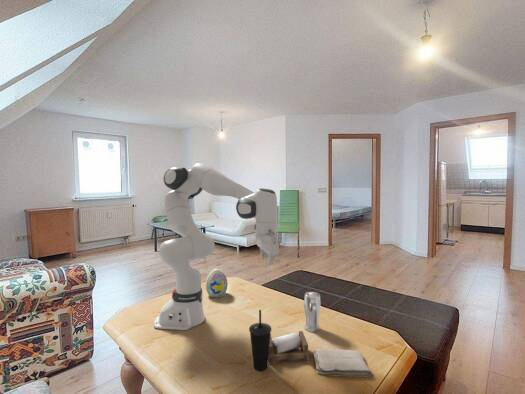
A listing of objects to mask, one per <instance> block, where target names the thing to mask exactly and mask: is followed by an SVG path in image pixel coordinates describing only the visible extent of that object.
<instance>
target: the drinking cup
mask: <svg viewBox="0 0 525 394" xmlns="http://www.w3.org/2000/svg"><path fill="white" fill-rule="evenodd" d="M248 332H249V333H250V334H249V335H250V342H251V343H250V344H251V352H252V362H253V363H252V364H253V369H254V370H255V371H257V372H264V371H266V370H267V369H268V365H269V361H268V355H269V343H270V333H271V332H272V326H271V325H270V324H268V323H265V322H262V309H259V310H258V322H257V323H253V324H251V325H250V326H249V328H248Z"/></svg>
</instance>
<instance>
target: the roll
mask: <svg viewBox="0 0 525 394" xmlns="http://www.w3.org/2000/svg"><path fill="white" fill-rule="evenodd" d="M272 341H273V348H274V350H275V352H276V353H277V354H279V353H282V352H286V351H289V350H293V349H296V348H300V346H301V341H300V337H299V333H298V332H291V333H288V334H284V335H279V336H278V337H273V339H272Z"/></svg>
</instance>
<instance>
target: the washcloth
mask: <svg viewBox="0 0 525 394" xmlns="http://www.w3.org/2000/svg"><path fill="white" fill-rule="evenodd" d="M312 354H313V359H314V364H315V369H316V373H317V374H319V375H323V376H333V377H334V376H335V377H360V378H361V377H365V378H367V377H371V376H372V375H373V373H372V371H371V369H370V367H369V366H368V365H367V363H366V362H365V361H366V360H365V358H364V356H363V354H362V352H361V351H359V350H353V349H351V350H350V349H349V350H348V349H329V348H328V349H327V348H326V349H325V348H316V349H314V350H313V351H312Z"/></svg>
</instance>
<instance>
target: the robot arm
mask: <svg viewBox="0 0 525 394" xmlns="http://www.w3.org/2000/svg"><path fill="white" fill-rule="evenodd" d="M163 183H164V185H165V186H166V187H167V188H169V190H170V191H168V192H167V193H166V194H165V195H164V200H163V201H164V210H165V215H166V218H167V223H168V226H169V228H170V230H171V231H172V232H173V233H176V234H178V235H180V236H182V237H175V238H171V239H168V240H165V241H163V242H162V243H161V244H160V246H159V248H158V249H159V250H158V253H159V254H158V255H159V258H160V260H161V261H162V262H163V263H164V264H166V265H167V266H169V267H170V268H171V270H172V271H173V273H174V277H175V284H176V285H175V287H174V288H173V290H172V293H171V299H170V300H168V301H167V302H166V303H165V304H164V305H163V306H162V307H161V309H160V312H159V314H158V315H157V316H156V318H155V319H154V322H153V328H155V329H157V330H158V329H163V330H173V331H175V330H176V331H177V330H178V331H187V330H190V329H191V328H192V327H196V326H199V325H200V324H202V323H203V322H204V321H205V319H206V316H205V312H204V309H203V289H202V274H201V272H200V270H199V269H197V268H196V267H192V266H191V265H190V261H194V260H199V259H203V258H206V257H209V256H211V255H212V254H213V253H214V250H215V246H216V245H215V241H214V239H213V238H212V236H210V235H209V234H206V233H205V232H203V231H202V230H201V229H200V228H199V226H198V225H196V223H195V221H194V219H193V216H192V213H191V210H190V206H189V204H188V200H192V199H194V198H195V197H196V196H198V195H199V194H201V193H202V192H203V191H205V192H206V193H208V194H210V195H213V196H222V197H233V198H236V199H237V200H238V201H236V205H235V210H236V213H237V215H238V216H239V218H241V219H243V220H251V219H255V224H254V226H253V229H254V230H255V231H254V233H255V234H254V235H255V243H256V246H257V247H258V248H259V251H260V257H261V259H263V260H265V259H266V258H267V255H268V259H267V264H268V265H270V266H272V265H274V258H275V256H279V254H280V246H279V237H278V236H277V235H276V234H277V233H278V218H277V212H278V198H277V193H276V191H275V190H272V189H269V188H261V187H260V188H258V189H256V190H255V192H253V191H252V190H250V189H249V188H246V187H245V186H243V185H241V184H239V183H237V182H236V181H234V180H233V179H230V178H229V177H227V176H226V175H224V174H223V173H221V172H220V171H218V170H217V169H215V168H213V167H212V166H211V165H207V164H205V163H204V162H203V163H202V162H199V163H195V164H193V165H192V167H191V169H187V168H186V167H170V168H168V169H167V170H166V171H165V173H164V175H163Z"/></svg>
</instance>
